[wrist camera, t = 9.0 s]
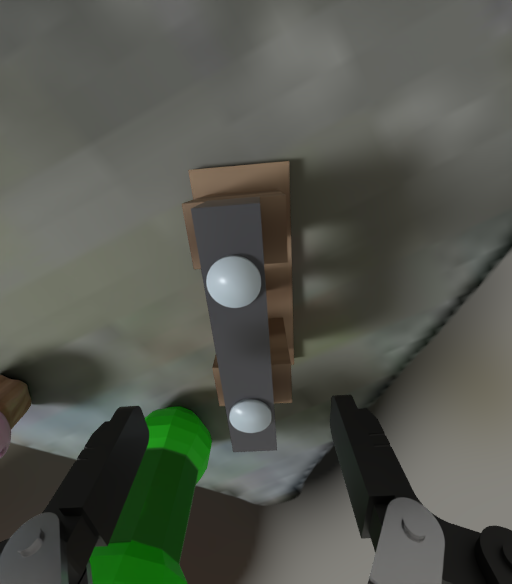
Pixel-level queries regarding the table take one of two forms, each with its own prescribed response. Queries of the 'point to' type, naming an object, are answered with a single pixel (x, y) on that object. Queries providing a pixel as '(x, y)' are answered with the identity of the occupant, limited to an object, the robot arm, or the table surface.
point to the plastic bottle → (157, 504)
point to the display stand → (276, 247)
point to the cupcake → (11, 408)
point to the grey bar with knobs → (238, 315)
